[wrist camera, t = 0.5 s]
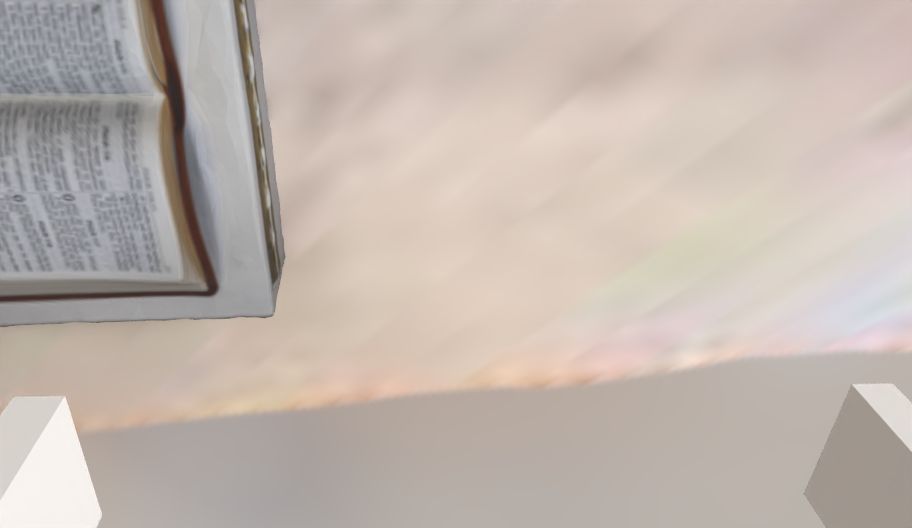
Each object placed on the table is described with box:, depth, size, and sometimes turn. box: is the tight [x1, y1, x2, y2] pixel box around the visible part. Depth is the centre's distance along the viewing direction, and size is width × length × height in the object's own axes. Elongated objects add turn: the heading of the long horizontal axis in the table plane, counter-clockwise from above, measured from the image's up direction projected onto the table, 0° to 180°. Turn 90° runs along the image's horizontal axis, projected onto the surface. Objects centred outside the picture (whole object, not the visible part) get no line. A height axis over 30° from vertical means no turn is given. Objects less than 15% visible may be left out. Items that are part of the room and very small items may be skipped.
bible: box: [0, 0, 285, 327], centre depth 30 cm, size 23×27×10 cm
